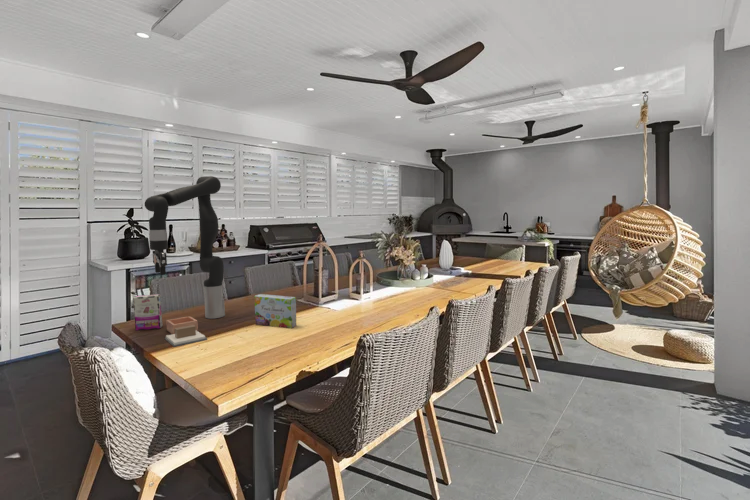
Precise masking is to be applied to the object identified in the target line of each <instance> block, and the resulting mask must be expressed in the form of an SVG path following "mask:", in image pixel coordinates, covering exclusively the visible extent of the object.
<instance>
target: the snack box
mask: <svg viewBox="0 0 750 500" xmlns="http://www.w3.org/2000/svg"><path fill="white" fill-rule="evenodd" d="M253 297H254V298H253V299H254V320H255V321H254V322H255V325H258V326H267V327H274V328H276V327H277V328H282V329H283V328H284V329H290V330H291V329H293V328H295V327H296V326H297V297H296V296H287V295H285V296H284V295H277V294H276V295H275V294H267V293H265V294H263V293H258V294H256V295H254V296H253Z"/></svg>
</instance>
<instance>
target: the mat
mask: <svg viewBox="0 0 750 500" xmlns="http://www.w3.org/2000/svg"><path fill="white" fill-rule="evenodd" d="M205 338H206V339H201V340H196V341H191V342H186V343H182V344H177V345H174V344H173V343H172V342H170V341H169V340H168V339H167V338H166V337H164V340H165V341H166V342H167V343H169V344H170V345H171V346H172V347H174V348H176V347H180V346H185V345H189V344H194V343H199V342H203V341H208V338H207V337H206V336H205Z"/></svg>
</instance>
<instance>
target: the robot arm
mask: <svg viewBox="0 0 750 500" xmlns="http://www.w3.org/2000/svg"><path fill="white" fill-rule="evenodd" d="M221 185H222V184H221V180H220V179H219V178H218V177H216V176H212V175H209V176H200V177H198V178H197V180H196V183H195V184H193V185H188V186H183V187H179V188H175V189H172V190H170V191H167V192H164V193H161V194H156V195H152V196H149V197H147V198H146V199H145V200H144V207H145V209H146V210H147V211H149V212H153V214H152V216H151V217H150V218H149V221H148V225H149V226H148V227H149V228H148V229H149V233H148V236H149V249H150V250H151V251H152V262H153V263H152V264H154V273H159V274H160V275H161V276H163V275H166V274H167V273H166V271H167V270H166V267H167V266H168V259H167V252H165V251H164V250H168V248H169V245H168V243H169V242H168V231H167V218H168V213H169V207H175V206H177V205H180V204H182V203H186V202H188V201H190V200H193V199H195V198H197V201H198V213H199V214H198V216H199V219H198V220H199V233H200V234H199V235H200V237H199V241H200V242H199V244H200V245H199V247H200V250H199V251H200V252H199V268H200V270H201V271H202V272H203V273H207V274H208V278H207V279H205V280H204V281H203V293H204V295H203V296H204V298H203V299H204V315H205V316H204V317H205V319H210V320H211V319H220V318H223V317H226V312H225V311H226V310H225V307H226V306H225V298H223V297H224V295H223V281H224V274H225V273H224V271H225V270H224V261H223V259H222V257H220V256H217V255H213V254H214V253H213V247H214V242H215V240H216V238H217V236H218V233H219V219H218V216H217V213H216V211H215V210H214V208H213V205H212V201H211V195H214V194H216V193H218V192H219V191H220V189H221Z"/></svg>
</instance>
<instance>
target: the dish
mask: <svg viewBox="0 0 750 500" xmlns="http://www.w3.org/2000/svg"><path fill="white" fill-rule="evenodd" d="M165 322H166V324H165V325H166V331H167V332H169V334H170V335H172V334H175V328H179V327H185V326H190V325H194V326H195V327H196V330H197V331H198V332H199V322H198V320H197V319H195V318H194V317H192V316H190V315H189V316H183V317H178V318H177V317H176V318H170V319H166V320H165Z"/></svg>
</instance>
